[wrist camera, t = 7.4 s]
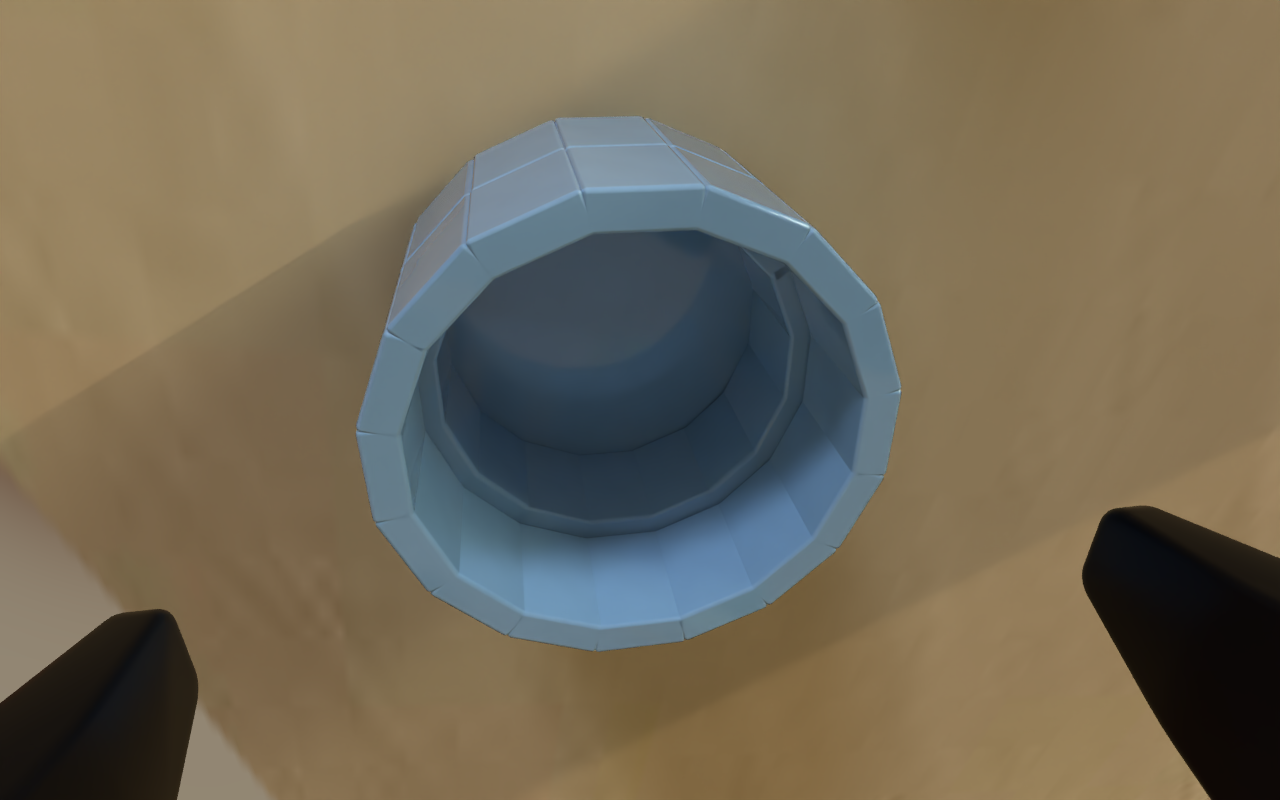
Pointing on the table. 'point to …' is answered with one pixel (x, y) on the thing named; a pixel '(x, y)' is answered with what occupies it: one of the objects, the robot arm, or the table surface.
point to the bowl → (621, 390)
